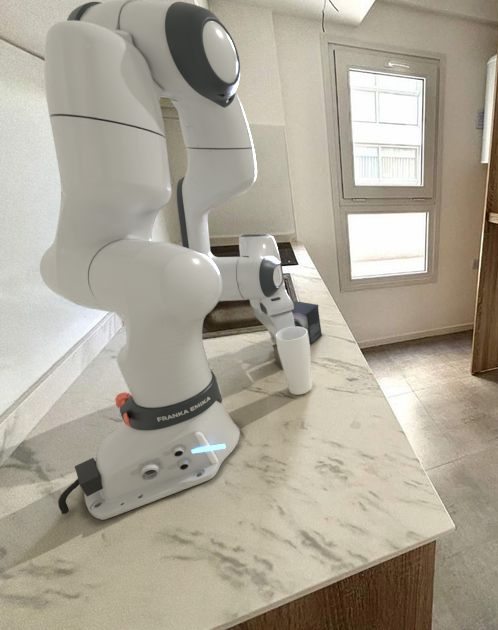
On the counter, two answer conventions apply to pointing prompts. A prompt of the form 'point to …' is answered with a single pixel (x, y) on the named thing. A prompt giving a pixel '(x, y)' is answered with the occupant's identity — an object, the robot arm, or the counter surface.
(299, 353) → the drinking glass
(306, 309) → the small box
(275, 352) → the walnut block
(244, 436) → the counter surface
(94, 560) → the counter surface
